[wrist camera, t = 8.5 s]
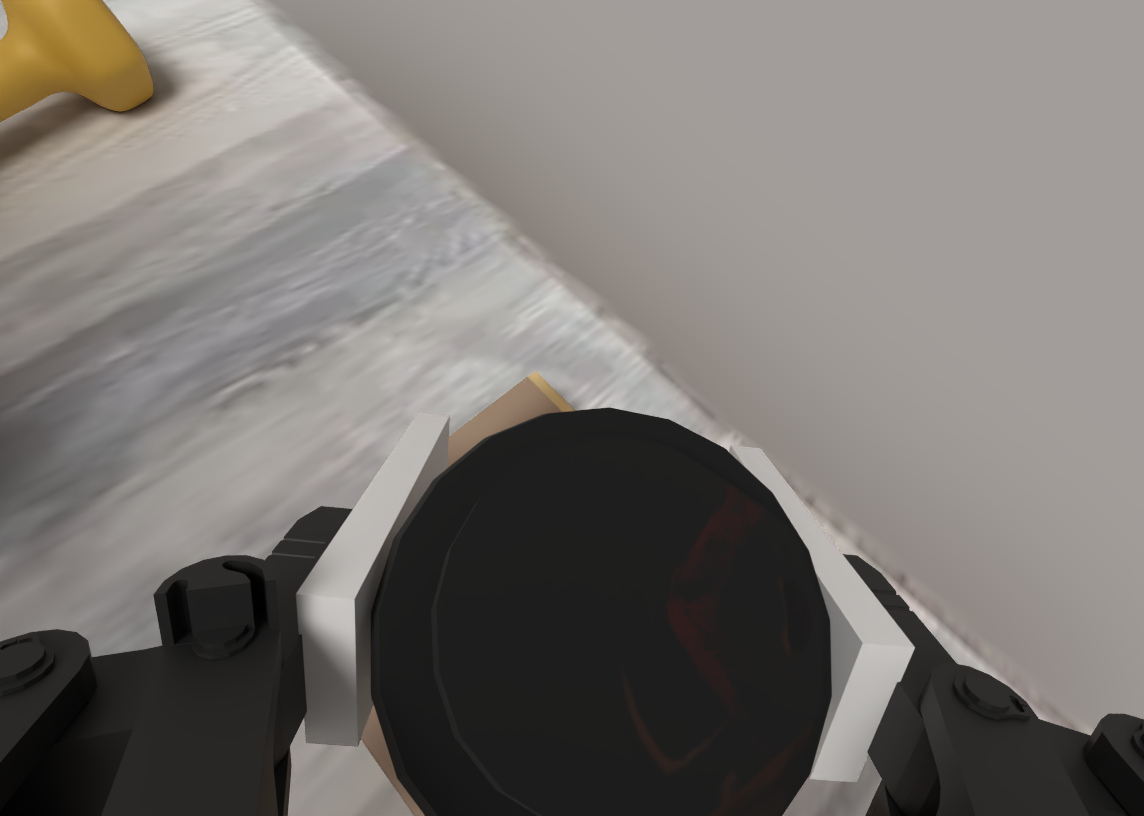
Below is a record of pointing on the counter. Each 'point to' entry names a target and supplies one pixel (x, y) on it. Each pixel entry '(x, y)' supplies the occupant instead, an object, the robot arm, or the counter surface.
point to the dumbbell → (69, 56)
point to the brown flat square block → (500, 415)
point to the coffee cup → (600, 630)
